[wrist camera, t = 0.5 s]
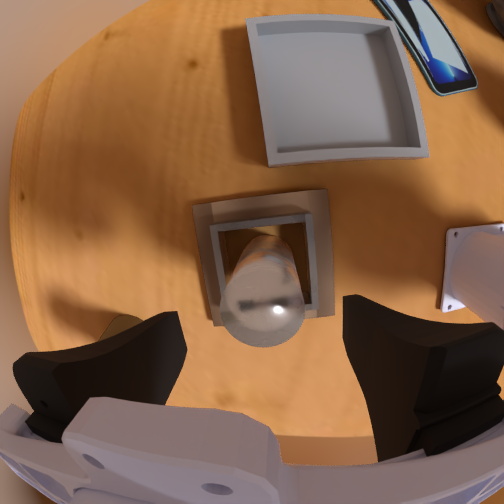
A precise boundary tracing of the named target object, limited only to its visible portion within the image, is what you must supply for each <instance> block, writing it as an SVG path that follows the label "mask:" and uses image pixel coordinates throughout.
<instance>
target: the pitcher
mask: <svg viewBox="0 0 504 504" xmlns="http://www.w3.org/2000/svg"><path fill="white" fill-rule="evenodd" d="M491 1H492V3H488V4H487V6H486V12H487V14H488V16H489V18H490V20H491V22H492V23H493V25H494V26H495V27H496V29H497V30H498V31H499V33H500V34H501V35H502V36H503V37H504V0H491Z"/></svg>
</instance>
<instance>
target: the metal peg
mask: <svg viewBox="0 0 504 504" xmlns="http://www.w3.org/2000/svg"><path fill="white" fill-rule="evenodd" d="M220 315H221V319H222V322H223V324H224V326H225V328H226V329H227V330H228V332H229V333H230V334H231V335H232V336H233V337H235V338H236V339H237V340H239V341H241V342H243V343H245V344H247V345H250V346H255V347H272V346H276V345H279V344H282V343H284V342H286V341H287V340H289V339H290V338H291V337H293V336H294V335H295V334H296V332H297V331H298V330H299V328H300V327H301V325H302V323H303V320H304V316H305V304H304V299H303V295H302V291H301V287H300V282H299V278H298V274H297V270H296V266H295V262H294V258H293V255H292V251H291V249H290V247H289V246H288V244H287V243H286V242H285V241H284V240H282V239H281V238H279V237H276V236H273V235H262V236H258V237H256V238H254V239H252V240H251V241H250V242H249V243H248V244H247V245H246V247H245V248H244V250H243V252H242V255H241V257H240V259H239V261H238V263H237V265H236V267H235V269H234V272H233V274H232V276H231V278H230V280H229V282H228V284H227V287H226V289H225V291H224V293H223V295H222V298H221V302H220Z"/></svg>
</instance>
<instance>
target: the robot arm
mask: <svg viewBox="0 0 504 504" xmlns="http://www.w3.org/2000/svg"><path fill="white" fill-rule="evenodd" d="M455 232H456V235H455V236H454V233H455ZM449 305H450V306H449ZM448 306H449V307H448ZM463 307H467V308H468V309H470V310H471V311H472V312H474V313H475V314H476V315H477V316H479V317H480V318H481V319H483V320H484V321H485V322H486V323H473V324H456V323H443V322H436V321H429V320H424V319H420V318H416V317H412V316H409V315H406V314H403V313H400V312H397V311H395V310H392V309H390V308H387V307H385V306H383V305H380V304H378V303H376V302H374V301H372V300H370V299H367V298H365V297H363V296H360V295H357V294H355V295H348V296H343V341H344V345H345V349H346V352H347V356H348V358H349V361H350V363H351V365H352V368H353V370H354V372H355V375H356V377H357V379H358V382H359V384H360V386H361V389H362V391H363V394H364V397H365V400H366V403H367V407H368V411H369V415H370V420H371V424H372V429H373V434H374V439H375V445H376V450H377V457H378V463H374V464H367V465H347V466H346V465H341V466H329V465H327V466H325V465H302V464H289V463H283V461H282V459H281V454H280V446H279V442H278V440H277V438H276V437H275V435H274V434H273V432H272V431H271V429H270V428H269V427H268V426H266V425H264V424H262V423H260V422H258V421H256V420H254V419H252V418H250V417H248V416H247V415H245V414H243V413H237V412H231V411H225V410H220V409H212V408H190V407H176V406H165V404H166V401H167V399H168V397H169V395H170V393H171V391H172V389H173V387H174V385H175V382H176V380H177V378H178V376H179V374H180V372H181V369H182V367H183V364H184V361H185V357H186V353H187V350H188V349H187V346H186V342H185V339H184V335H183V332H182V328H181V324H180V320H179V316H178V313H177V311H171V312H163V313H160V314H157V315H155V316H153V317H151V318H149V319H147V320H145V321H143V322H141V323H139V324H137V325H135V326H133V327H131V328H129V329H127V330H125V331H123V332H120V333H118V334H116V335H114V336H111V337H109V338H106V339H104V340H101V341H98V342H95V343H92V344H88V345H84V346H80V347H76V348H71V349H66V350H58V351H48V352H28V353H25V354H24V355H23V356H21V357H20V358H19V359H18V360H17V361H15V362H14V363H13V374H14V377H15V379H16V382H17V384H18V386H19V388H20V389H21V391H22V393H23V394H24V396H25V398H26V399H27V401H28V402H29V404H30V405H31V407H32V409H33V410H34V412H33V413H32V414H31V415H30V414H29V413H28V412H27V411H25V410H24V409H22V408H20V407H18V406H16V405H14V404H11V405H10V406H9V407H8V408H7V409H6V410H5V411H4V412H3V413H2V414H1V415H0V457H1V458H2V459H3V460H4V461H5V462H6V463H7V465H8V466H9V467H10V468H11V469H12V470H13V471H14V472H15V473H16V474H17V475H18V476H20V477H21V478H22V479H24V480H25V481H26V482H28V483H29V484H30V485H32V486H33V487H34V488H36V489H37V490H39V491H40V492H41V493H43V494H44V495H46V496H47V497H49V498H50V499H52V500H53V501H55V502H56V503H58V504H479V503H480V502H482V501H483V500H485V499H486V498H488V497H489V496H491V495H492V494H493V493H495V492H496V491H498V490H499V489H500V488H502V487H503V486H504V400H502V399H501V397H500V396H499V395H498V394H500V392H501V387H500V386H499V385H498V384H497V380H498V378H499V376H500V373H501V371H502V368H503V366H504V223H500V224H491V225H481V226H471V227H462V228H452V229H449V230H448V231H447V233H446V256H445V271H444V282H443V291H442V299H441V307H440V310H441V311H442V312H443V313H445V312H449V311H453V310H456V309H460V308H463Z"/></svg>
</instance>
